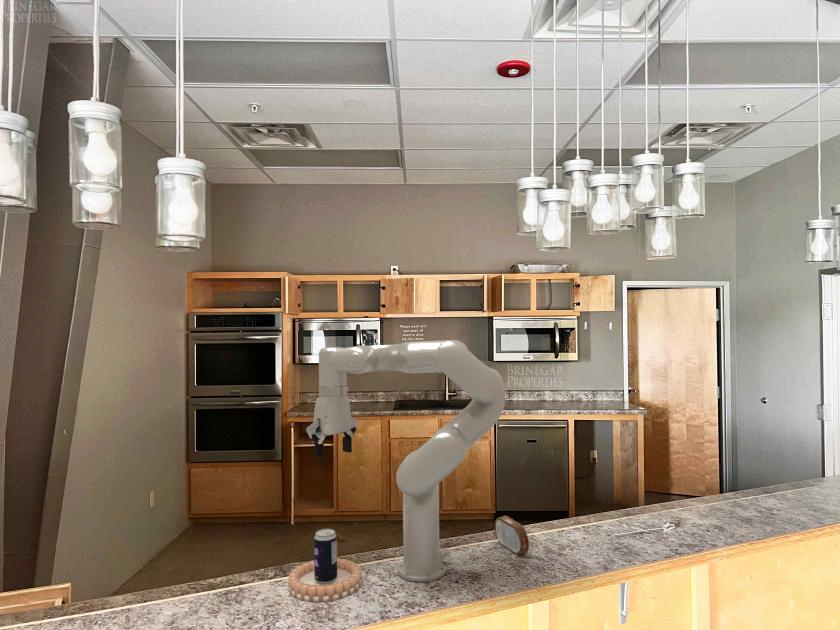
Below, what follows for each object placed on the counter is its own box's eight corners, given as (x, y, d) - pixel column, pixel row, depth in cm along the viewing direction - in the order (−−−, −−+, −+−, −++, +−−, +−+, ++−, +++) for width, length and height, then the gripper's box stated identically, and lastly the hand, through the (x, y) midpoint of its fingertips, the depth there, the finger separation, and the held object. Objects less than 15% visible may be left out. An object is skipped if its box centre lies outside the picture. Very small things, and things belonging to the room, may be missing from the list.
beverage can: (327, 573, 140) (326, 526, 141) (342, 579, 137) (341, 531, 137) (309, 581, 136) (309, 533, 137) (324, 587, 132) (324, 537, 133)
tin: (530, 558, 151) (529, 527, 151) (520, 560, 149) (519, 529, 150) (502, 539, 165) (502, 511, 165) (493, 541, 163) (493, 513, 164)
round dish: (330, 563, 149) (330, 552, 149) (376, 582, 137) (376, 570, 137) (273, 586, 136) (273, 574, 136) (318, 609, 124) (318, 596, 124)
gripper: (348, 389, 157) (348, 448, 157) (298, 394, 145) (299, 458, 144) (365, 390, 152) (366, 451, 152) (316, 395, 140) (316, 462, 139)
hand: (333, 454), depth 148 cm, fingers open, 9 cm apart
